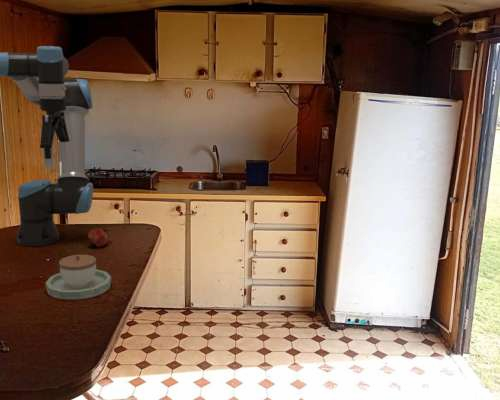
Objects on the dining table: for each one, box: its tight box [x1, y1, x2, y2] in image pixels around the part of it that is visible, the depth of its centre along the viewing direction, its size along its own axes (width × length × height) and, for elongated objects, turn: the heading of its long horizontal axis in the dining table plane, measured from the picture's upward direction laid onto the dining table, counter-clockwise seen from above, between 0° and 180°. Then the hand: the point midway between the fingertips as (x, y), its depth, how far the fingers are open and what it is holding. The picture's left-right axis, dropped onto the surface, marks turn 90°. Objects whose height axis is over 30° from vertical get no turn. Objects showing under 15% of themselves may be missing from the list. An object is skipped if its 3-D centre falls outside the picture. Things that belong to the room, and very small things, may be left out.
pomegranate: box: [86, 228, 108, 248], centre depth 198 cm, size 7×7×10 cm
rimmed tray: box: [45, 268, 112, 301], centre depth 160 cm, size 18×18×2 cm
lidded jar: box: [58, 254, 97, 288], centre depth 159 cm, size 11×11×9 cm
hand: (56, 165), depth 169 cm, fingers open, 13 cm apart
